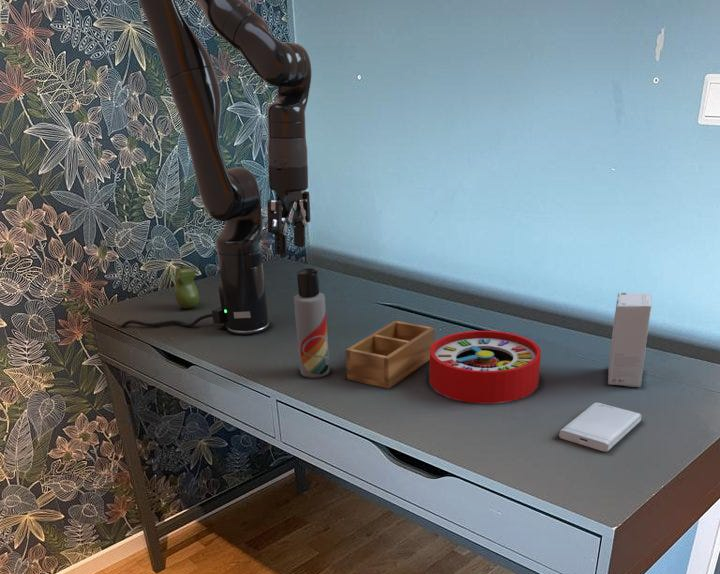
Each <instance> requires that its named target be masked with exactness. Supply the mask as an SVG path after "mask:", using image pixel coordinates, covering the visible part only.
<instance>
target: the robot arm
mask: <svg viewBox="0 0 720 574" xmlns="http://www.w3.org/2000/svg"><path fill="white" fill-rule="evenodd" d="M194 1H195V3H197V5H198V6H199V7H200V9H201V10H202V13H203V15H204V17H205V18H206V20H207V22H208V24H209V25H210V26H211V28H212V29H213V31H215V32H216V34H218V36H219V37H220V38H221V39H223V40H224V41H225V42H226V43H228V44H229V46H231V47H232V48H233V49H235V51H236V52H238V53H239V54H240V55H242V57H243V58H244V60H245V61H246V63H247V64H248V65H249V66H250V68H251V69H252V71H253V72H254V73H255V74H256V75H257V76H258V77H259V78H260V79H261V80H262V81H263V82H265V83H267V84H268V85H270V86H273V87H277V93H276V99H275V101H273V102H272V103H270V104H269V106H268V108H267V135H268V139H267V168H268V169H267V170H268V171H267V172H268V187H269V189H270V190H271V191H274V192H275V193H276V194H275V199H274V198H273V199H270V198H269V199H268V200H267V202H266V205H267V209H266V210H267V232H268V233H271V234H272V235H274V251H275V252H274V253H275V255H278V256H285V255H287V254H288V242H287V240H288V238H287V237H288V236H287V231H288V228H289V226H290V225H291V224H293V245H294V246H295V247H299V248H300V247H301V248H303V247H305V246H306V227H307V226H308V223H310V222H311V205H310V204H311V199H310V191H306V190H307V189H308V188H309V161H308V159H309V158H308V157H309V155H308V154H309V153H308V146H307V145H308V143H307V135H306V134H307V129H306V127H307V125H306V110H307V105H308V101H309V95H310V89H311V83H312V62H311V58H310V55H309V53H308V52H307V49H306V48H305V47H304V46H302V45H301V44H299V43H295V42H286V41H285V42H284V41H283V42H282V41H280V40H278V39H277V38H275V37H274V36H272V34H271V30H270V28H269V25H268V23H267V21H265V19H263V17H261V16H260V15H259V14H258V13H257V12H255V10H253V9H252V8H251V7H250V6H249V5H247V3H245V2H244V1H243V0H194ZM138 2H139V5H140V7H141V9H142V11H143V14H144V16H145V18H146V21H147V25H148V27H149V30H150V33H151V35H152V38H153V41H154V44H155V46H156V49H157V52H158V55H159V58H160V60H161V64H162V67H163V71H164V74H165V78H166V81H167V84H168V87H169V90H170V93H171V96H172V99H173V102H174V105H175V107H176V111H177V113H178V116H179V119H180V123H181V126H182V129H183V130H182V131H183V133H184V137H185V139H186V143H187V146H188V149H189V153H190V158H191V162H192V167H193V171H194V175H195V180H196V184H197V188H198V192H199V196H200V199H201V203H202V204H203V207H204V208H205V210H206V212H207V213H208V215H209V216H210V217H211V218H212V219H214V220H215V221H218V222H225V223H224V226H223V228H222V229H221V231H220V233H219V234H218V235H217V237H216V238H215V248H216V255H217V262H218V269H219V277H220V284H221V285H219V286H218V295H219V302H220V306H219V307H216V308H214V309H212V310H211V313H208V314H204V315H201V316H199V317H197V318H196V319H195V320H193V321H192V322H190V323H185V322H183V321H181V320H177V319H176V320H175V319H173V320H164V321H159V322H145V321H140V320H136V319H135V320H134V319H130V320H126V321H124V322H123V323H122V324H121V325H120V328H126V326H128V325H130V324H134V325H139V326H142V327H143V326H144V327H160V326H161V327H162V326H167V325H174V324H175V325H180V326H183V327H185V328H192V327H193V326H195V325H197V324H199V322H201V321H203V320H205V319H209V318H212V321H213V324H217V325H222V324H223V329H225V330H227V332H229V333H231V334H234V335H242V336H243V335H245V336H246V335H254V334H258V333H261V332H264V331H266V330H267V329H268V328H269V327H270V321H269V316H268V315H269V313H268V304H267V294H266V285H265V276H264V275H265V274H264V266H263V259H262V248H261V239H262V235H263V211H262V197H261V191H260V187H259V184H258V181H257V179H256V177H255V175H254V174H253V173H252V171H250V170H249V169H247V168H245V167H241V166H235V167H231V168H227V166H226V164H225V160H224V156H223V154H222V149H221V144H220V126H221V116H222V92H221V89H220V84H219V81H218V78H217V74H216V71H215V68H214V63H213V62H212V59H211V56H210V55H209V53H208V50H207V49H206V47H205V46H204V44H203V43H202V42H201V40H200V39H199V38H198V36H197V35H196V34H195V32H194V31H193V29H192V28H191V27H190V25H189V24H188V22H187V21H186V19H185V18H184V16H183V15H182V13H181V12H180V10H179V7H178V5H177V2H176V0H138ZM128 409H129V413H130V418H131V422H132V427H133V432H134V433H133V434H134V437H138V436H139V434H138V428H137V422H136V419H135V413H134V409H133V406H132V405H128Z"/></svg>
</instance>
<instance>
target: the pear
mask: <svg viewBox="0 0 720 574" xmlns="http://www.w3.org/2000/svg"><path fill="white" fill-rule="evenodd" d="M195 278H196V273H195V271H194V270H193V269H192V268H190V267H189V266H188V265H179V267H178V268H176V271H175V273H174V280H175V284H174V297H175V300H176V303H177V304H178V305H179V306H180V307H181V308H183V309H186V310H187V309H189V310H190V309H193V308H195V307H197V305H198V304H199V302H200V294H199V289H198V287H197V286H196V283H195Z"/></svg>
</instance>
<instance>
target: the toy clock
mask: <svg viewBox="0 0 720 574" xmlns="http://www.w3.org/2000/svg"><path fill="white" fill-rule="evenodd" d="M541 356H542V349H541V348H540V346H539V345H538V344H537V343H536V342H534V341H533V340H531V339H530V338H527V337H525V336H523V335H519V334H517V333H516V334H515V333H511V332H505V331H499V330H471V331H470V330H469V331H461V332H456V333H452V334H448V335H445V336H443V337H441V338H439V339H437V340H435V342H434V343H433V345H432V346H431V348H430V360H429V377H428V378H429V385H430V386H431V388H432V389H433V390H434V391H435V392H437V393H438V394H440V395H442V396H444V397H446V398H449V399H451V400H455V401H460V402H465V403H471V404H483V405H484V404H485V405H486V404H501V403H503V404H504V403H508V402H514V401H516V400H520V399H524V398H525V397H528V396H529V395H531V394H533V393H534V392H535V391H536V390H537V389H538V386H539V382H540V381H539V380H540V369H541V359H542V358H541Z"/></svg>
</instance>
